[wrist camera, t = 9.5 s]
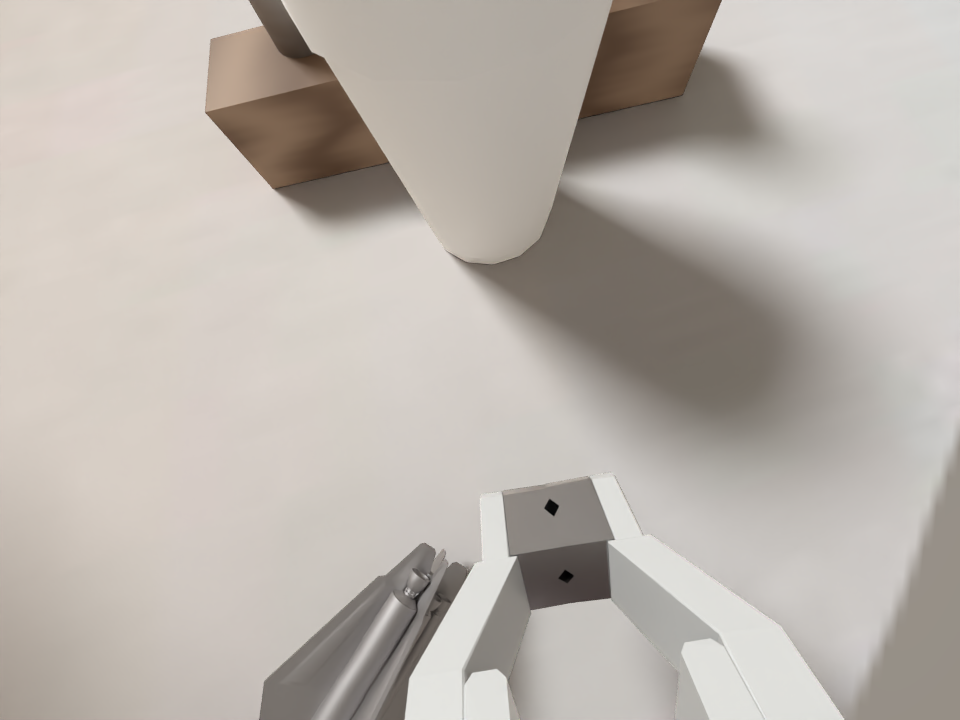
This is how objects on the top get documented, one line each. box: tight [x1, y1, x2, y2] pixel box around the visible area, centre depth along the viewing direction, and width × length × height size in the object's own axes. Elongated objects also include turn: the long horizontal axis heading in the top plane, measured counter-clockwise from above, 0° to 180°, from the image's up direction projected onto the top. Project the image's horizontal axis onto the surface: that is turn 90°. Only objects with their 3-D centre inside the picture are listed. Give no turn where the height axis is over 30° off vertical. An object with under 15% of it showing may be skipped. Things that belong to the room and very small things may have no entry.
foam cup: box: [281, 0, 613, 264], centre depth 14 cm, size 10×9×13 cm
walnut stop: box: [205, 0, 722, 189], centre depth 17 cm, size 24×5×11 cm, turn 99°
